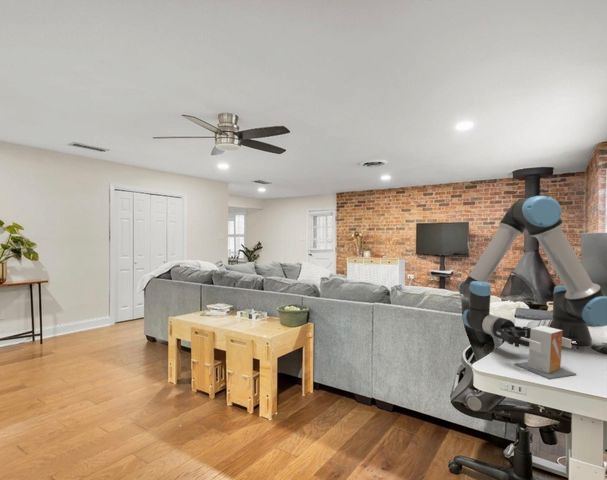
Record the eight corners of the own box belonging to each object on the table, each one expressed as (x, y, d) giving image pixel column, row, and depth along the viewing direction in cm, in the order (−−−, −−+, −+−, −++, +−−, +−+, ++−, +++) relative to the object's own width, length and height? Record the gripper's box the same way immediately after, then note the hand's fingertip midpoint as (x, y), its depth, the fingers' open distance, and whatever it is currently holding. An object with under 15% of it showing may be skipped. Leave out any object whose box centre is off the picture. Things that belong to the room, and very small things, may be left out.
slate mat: (540, 361, 123) (540, 360, 123) (576, 375, 111) (576, 373, 111) (514, 364, 119) (514, 363, 119) (549, 379, 107) (549, 378, 107)
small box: (549, 374, 110) (551, 333, 110) (527, 367, 116) (529, 328, 115) (561, 369, 115) (563, 329, 114) (539, 362, 120) (541, 325, 119)
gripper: (523, 334, 136) (582, 353, 116) (472, 339, 128) (526, 361, 108) (524, 315, 136) (583, 331, 115) (473, 319, 128) (527, 337, 107)
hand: (555, 345), depth 112 cm, fingers open, 13 cm apart
